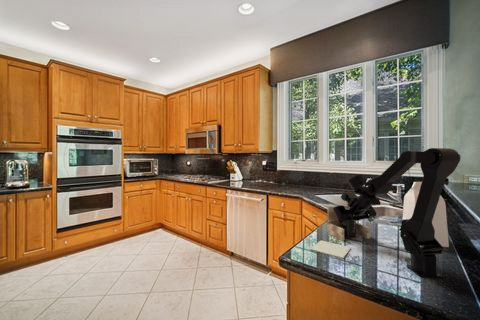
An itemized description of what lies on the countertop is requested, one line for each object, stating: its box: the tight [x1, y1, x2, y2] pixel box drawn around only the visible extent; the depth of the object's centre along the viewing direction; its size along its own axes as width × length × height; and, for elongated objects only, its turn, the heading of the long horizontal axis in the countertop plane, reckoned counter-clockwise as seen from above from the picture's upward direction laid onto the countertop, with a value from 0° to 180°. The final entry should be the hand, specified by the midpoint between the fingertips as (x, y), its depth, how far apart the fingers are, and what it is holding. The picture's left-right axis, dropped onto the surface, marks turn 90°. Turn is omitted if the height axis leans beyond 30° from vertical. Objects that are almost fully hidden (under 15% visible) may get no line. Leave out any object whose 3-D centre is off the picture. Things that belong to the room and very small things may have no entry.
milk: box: [402, 181, 450, 248], centre depth 94 cm, size 12×12×26 cm
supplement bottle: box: [340, 215, 357, 239], centre depth 100 cm, size 7×7×12 cm
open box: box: [326, 205, 370, 241], centre depth 100 cm, size 11×14×13 cm
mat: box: [310, 240, 352, 260], centre depth 84 cm, size 12×12×1 cm
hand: (345, 221), depth 101 cm, fingers closed on supplement bottle, 7 cm apart
